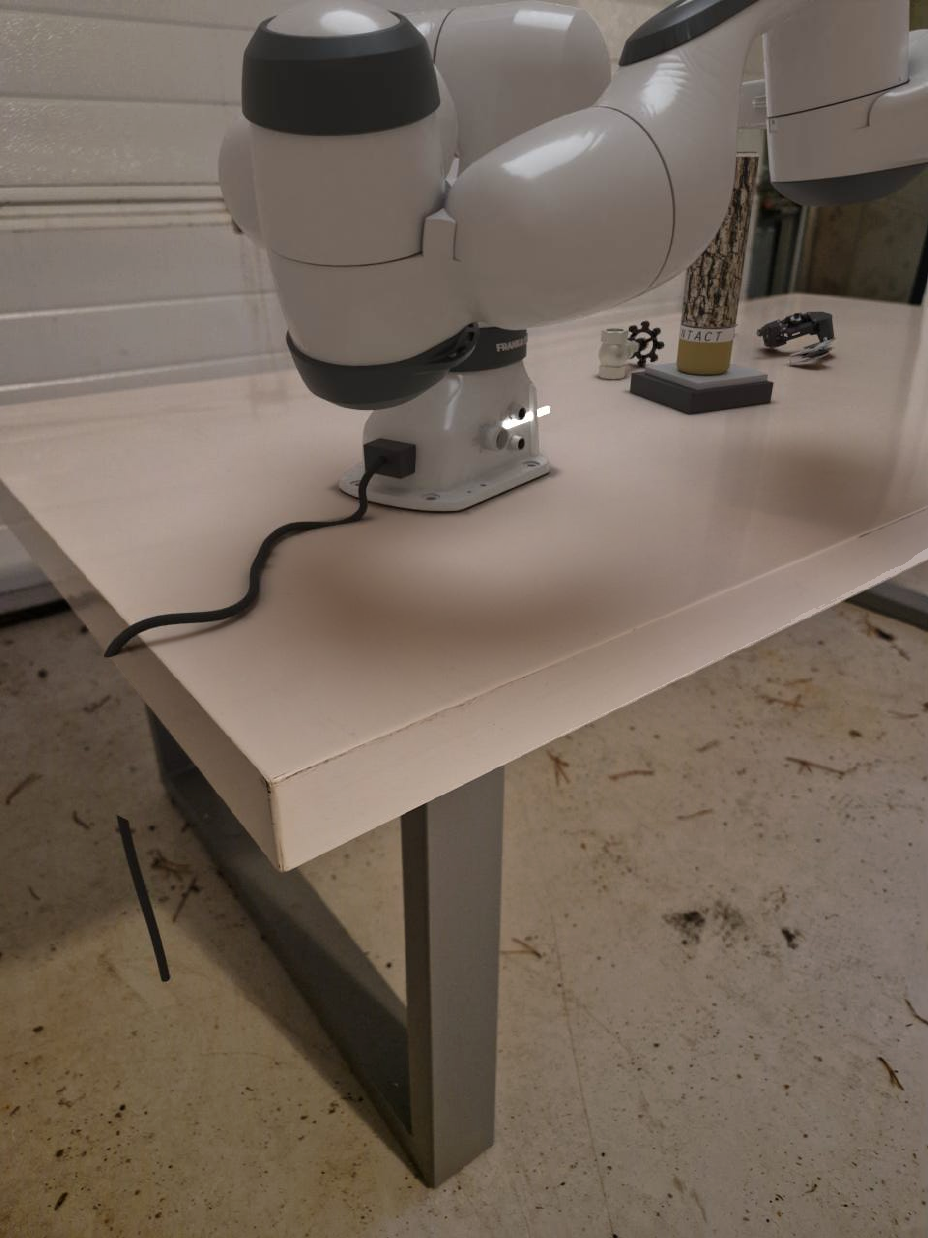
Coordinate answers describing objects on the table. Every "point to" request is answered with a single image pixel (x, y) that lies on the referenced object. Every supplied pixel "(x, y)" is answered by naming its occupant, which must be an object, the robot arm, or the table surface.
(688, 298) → the paper tube
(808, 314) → the bicycle component
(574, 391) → the table surface
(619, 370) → the valve
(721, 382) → the scale
